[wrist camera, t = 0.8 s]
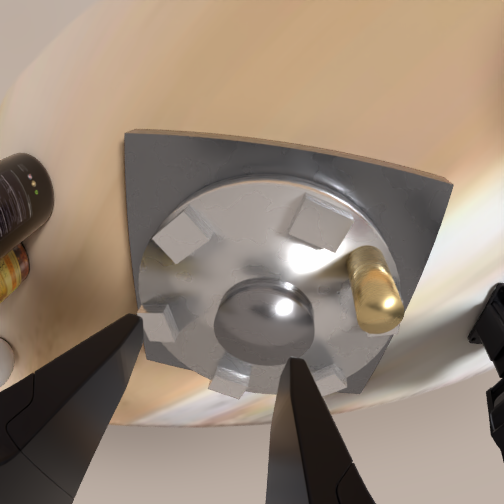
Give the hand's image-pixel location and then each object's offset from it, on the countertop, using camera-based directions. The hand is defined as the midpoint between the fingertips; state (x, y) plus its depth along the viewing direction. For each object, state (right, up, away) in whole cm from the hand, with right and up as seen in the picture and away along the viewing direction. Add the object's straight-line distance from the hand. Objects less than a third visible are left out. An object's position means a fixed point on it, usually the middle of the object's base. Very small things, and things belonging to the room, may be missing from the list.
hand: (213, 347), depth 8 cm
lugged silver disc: (+2, 0, +13) cm, 13 cm away
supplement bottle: (-18, +8, +13) cm, 24 cm away
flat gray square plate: (+2, 0, +15) cm, 15 cm away
